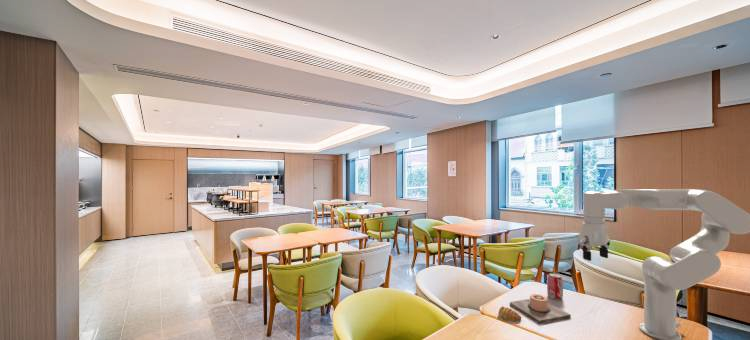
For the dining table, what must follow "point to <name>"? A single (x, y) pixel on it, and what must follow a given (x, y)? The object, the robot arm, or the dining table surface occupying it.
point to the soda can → (555, 286)
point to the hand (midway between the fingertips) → (595, 258)
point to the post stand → (540, 316)
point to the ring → (539, 302)
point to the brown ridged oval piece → (509, 314)
